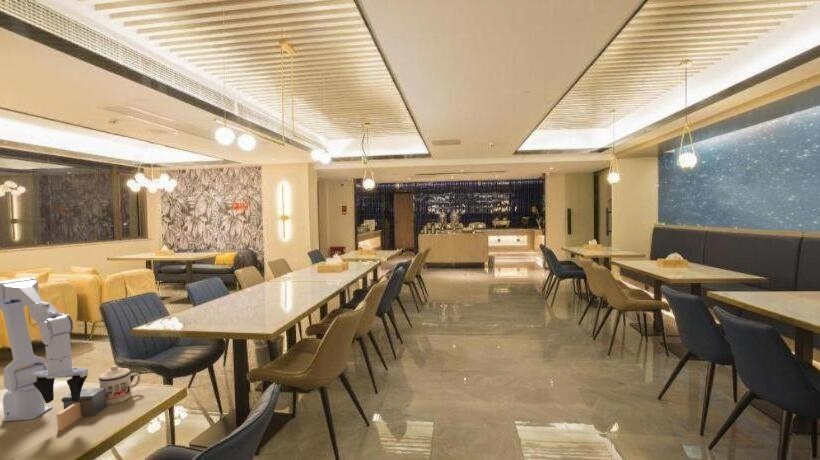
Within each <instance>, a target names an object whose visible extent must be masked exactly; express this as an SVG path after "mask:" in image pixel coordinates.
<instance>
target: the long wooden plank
mask: <svg viewBox="0 0 820 460" xmlns="http://www.w3.org/2000/svg"><path fill="white" fill-rule="evenodd" d="M81 418H83V417H82V406H81V401H77V402H75V403H74V404H72V405H71V406H69V407H67V408H66V409H64V408H63V409H62V410H61V411H60V412H58V413H56V422H57V423H56V424H57V431H58V432H59V430H61V431H63V430H64V429H66V428H68V427H69V426H70V425H72V424H73V423H74V422H76V421H78V420H79V419H81Z"/></svg>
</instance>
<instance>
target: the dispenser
mask: <svg viewBox="0 0 820 460" xmlns="http://www.w3.org/2000/svg"><path fill="white" fill-rule="evenodd" d="M77 401H81V406H82V417H81V418H86V417H88V418H89V417H95V416H97V415H98V414H99V413H101V412H102V411H104V410H106V409H107V407H108V406H107V403H106V390H105V388H100V387H95V388H82V389H81V393H80V399H78V400H77ZM77 401H75V402H77ZM75 402H72V399H71V392H70V393H68V394H66V395H65V396H63V397H62V399H61V403H63V410H64V409H66V408H67V407H69V406H71V405H72V404H74V403H75Z"/></svg>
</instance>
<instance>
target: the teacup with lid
mask: <svg viewBox="0 0 820 460" xmlns="http://www.w3.org/2000/svg"><path fill="white" fill-rule="evenodd" d="M133 376H137V380H136V382H135V383H134V384H132V383H131V381H132V379H131V377H133ZM98 380H99V388H105V390H106V403H107V405H108V406H109V405H114V404H119V403H121V402H125V401H127V400H128V399H130V398H131V397H132V389H133V388H136V387H137V386H138V385H139V384H140V382H141V375H140V373H137V372H132V371H131V369H129V368H126V367H125V368H124V367H119V365H116V364H114V365H112V366H111V367H110V369H108V370H107V371H105V372H103V373H101V374H100V375H99V376H98Z"/></svg>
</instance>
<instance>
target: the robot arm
mask: <svg viewBox="0 0 820 460" xmlns="http://www.w3.org/2000/svg"><path fill="white" fill-rule="evenodd" d="M25 306H26V307H27V308H29V316H30V317H31V319H33V321H35V323H36V324H37V325H38V326H39V327H38V329H39V330H38V331H39V334H40V336H41V339H42V340H41V341H42V343H43V345H44V347H45V355H46V356H45V357H46V358H44V357H42V356H38V355H36V354H34V350H33V345H32V344H33V343H32V341H31V335H30V331H29V328H28V323H27V319H26V315H25V310H24V308H25ZM0 310H1V311H2V315H3V319H4V322H5V327H6V331H7V335H8V341H9V344H10V345H9V346H10V349H11V354H12V360H11V362H10V363H8V364H7V365H6V366H5V368H4V369H3V385H4V387H5V389H6V392H5V393H4V395H3V396H2V397H3V398H2V406H3V416H4V418H2V419H1V421H2V422H8V421H9V422H10V421H23V420H24V421H26V420H27V421H28V420H34V419H36V418H37V417H39V416H41V415H42V414H44V413H45V412H48V411H49V410H51V409H52V408H53V406H51V405H48V406H47V405H46V404H49V403H51V402H52V401H54V397H55V395H54V394H55V393H54V386H55V385H54V384H55V379H56V378H57V379H58V378H69V379H67V380H66V383H67V385H68V387H69V390H70V393H71V399H72V402H75V401H77V400H78V399H80V393H81V389H83V386H84V384H85V381H86V379H87V377H88V375H89V369H88V368H87V367H86V368H82V367H73V360H72V359H73V358H72V347H71V345H72V344H71V333H73V330H74V321H73V319H72V317H71V316H70V314H68V313H66V314H65V313H61V312H60V311H59V310H58V308H56V307H55V306H54V305H53V304H52V303H51V302H50V301H45V300H43V298H42V296H41V295H40V293H39V282H38V280H37V279H36V278H35V277H34V276H29V277H22V278H15V279H8V280H1V281H0ZM29 365H30V366H29ZM25 366H26V367H25Z"/></svg>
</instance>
